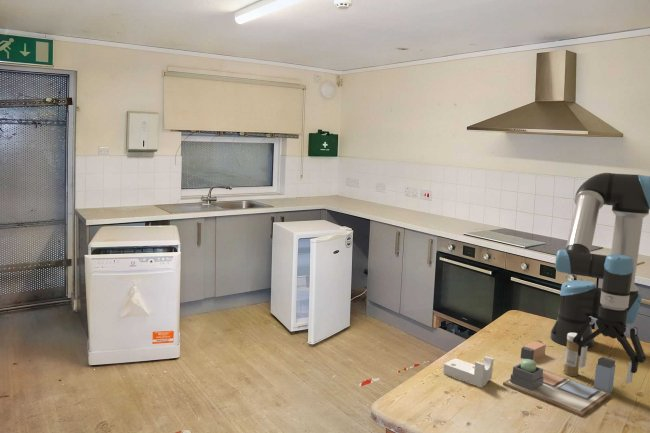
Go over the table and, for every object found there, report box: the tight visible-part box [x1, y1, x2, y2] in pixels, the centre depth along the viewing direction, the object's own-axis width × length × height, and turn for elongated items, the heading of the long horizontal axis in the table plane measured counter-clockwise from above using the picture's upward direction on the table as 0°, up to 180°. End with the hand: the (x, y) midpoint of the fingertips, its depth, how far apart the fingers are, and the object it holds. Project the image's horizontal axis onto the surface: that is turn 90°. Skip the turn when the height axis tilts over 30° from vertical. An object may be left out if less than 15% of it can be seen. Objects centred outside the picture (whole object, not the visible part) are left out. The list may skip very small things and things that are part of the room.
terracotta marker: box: [520, 340, 547, 361], centre depth 191 cm, size 4×4×10 cm
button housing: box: [509, 362, 544, 391], centre depth 166 cm, size 7×7×5 cm
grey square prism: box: [593, 356, 616, 394], centre depth 166 cm, size 4×4×10 cm
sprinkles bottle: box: [562, 333, 583, 377], centre depth 177 cm, size 5×5×14 cm
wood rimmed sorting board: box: [502, 369, 612, 418], centre depth 165 cm, size 20×24×1 cm
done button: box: [520, 358, 538, 373], centre depth 166 cm, size 4×4×3 cm
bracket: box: [442, 355, 494, 388], centre depth 171 cm, size 13×7×8 cm, turn 48°
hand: (604, 374), depth 165 cm, fingers open, 13 cm apart
